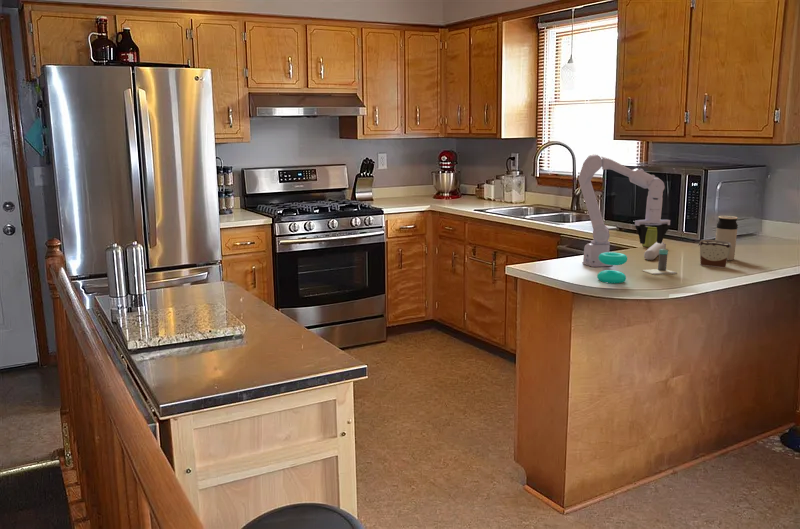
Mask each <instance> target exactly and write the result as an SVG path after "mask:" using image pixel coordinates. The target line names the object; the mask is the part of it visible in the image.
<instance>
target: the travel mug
mask: <svg viewBox="0 0 800 529" xmlns="http://www.w3.org/2000/svg"><path fill="white" fill-rule="evenodd" d="M737 220H738V216H734V215H733V216H732V215H719V216H718V222H717V223H716V230H715V239H714V240H720V241H727V242H730V243H731V247H732V249H731V248H730V250H729V254H728V259H727V261H733V260H735V255H736V254H735V253H736V247H737V246H736V245H737V244H736V243H737V236H738V235H737V234H738V222H737Z"/></svg>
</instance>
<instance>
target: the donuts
mask: <svg viewBox="0 0 800 529" xmlns="http://www.w3.org/2000/svg"><path fill="white" fill-rule="evenodd" d="M598 258H599V260H600V262H602V263H604V264H607V265H613V266H621V265H624V264H626V263H627V262H628V256H627V255H626V254H625V253H621V252H614V251H609V252H605V253H601V254H600V255H599V257H598ZM596 278H597V280H598V281H599V280H600V281H599V282H601V281H602V283H605V282H608V283H607V284H622V283H624V282H625V281H626V279H627V276H626V275H625V273H623V272H622V271H619V270H613V269H612V270H611V269H606V270H605V269H604V270H601V271H599V272H598V273H597V275H596Z"/></svg>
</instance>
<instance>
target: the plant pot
mask: <svg viewBox="0 0 800 529" xmlns="http://www.w3.org/2000/svg"><path fill="white" fill-rule="evenodd" d="M647 227H648V230H647V233H646V238H645V244H641V245H642V247H646V248H650V247H651V246H652V245H653V244H655V243H656V242H657V226H647Z"/></svg>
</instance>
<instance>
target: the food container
mask: <svg viewBox="0 0 800 529" xmlns="http://www.w3.org/2000/svg"><path fill="white" fill-rule="evenodd" d="M698 247H699V256H700V257H699V258H700V265H699V266H704V267H713V268H721V269H722V268H723V269H725V268H726V266H727V262H728V260H727V259H728V254H729V250H730V248H731V249H732V247H731V243H730V242H727V241H720V240H715V239H701V240H700V241H699V242H698Z"/></svg>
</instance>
